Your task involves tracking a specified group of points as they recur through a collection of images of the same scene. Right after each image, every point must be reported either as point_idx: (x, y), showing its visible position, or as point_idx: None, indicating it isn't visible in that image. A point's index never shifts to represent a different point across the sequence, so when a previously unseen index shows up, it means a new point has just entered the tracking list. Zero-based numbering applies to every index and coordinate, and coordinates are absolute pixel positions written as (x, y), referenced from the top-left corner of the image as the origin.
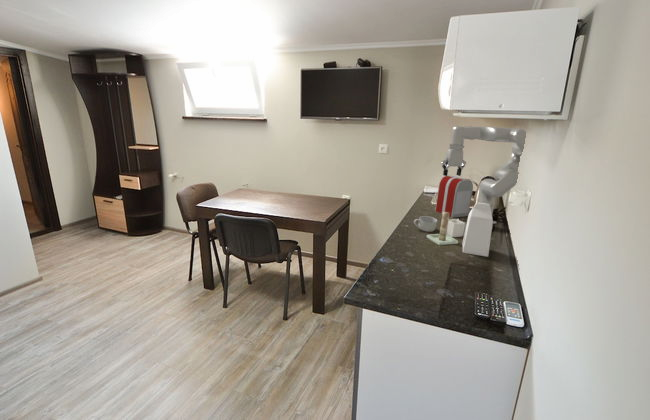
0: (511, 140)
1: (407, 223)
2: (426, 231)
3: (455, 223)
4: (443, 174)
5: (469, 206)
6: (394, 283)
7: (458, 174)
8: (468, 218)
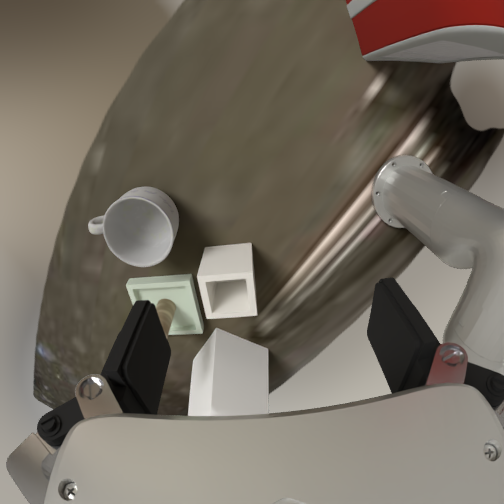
0: None
1: (109, 128)
2: (142, 236)
3: (213, 316)
4: (136, 308)
5: (464, 60)
6: (64, 396)
7: (374, 324)
8: (203, 406)
